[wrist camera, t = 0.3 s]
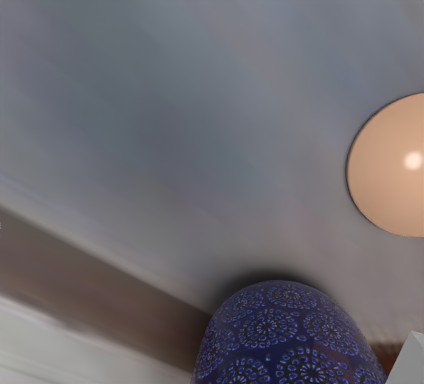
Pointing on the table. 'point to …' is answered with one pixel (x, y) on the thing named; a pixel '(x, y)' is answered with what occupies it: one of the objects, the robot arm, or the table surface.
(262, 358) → the planter
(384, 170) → the saucer
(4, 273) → the table surface
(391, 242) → the table surface
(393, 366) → the robot arm
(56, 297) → the table surface
